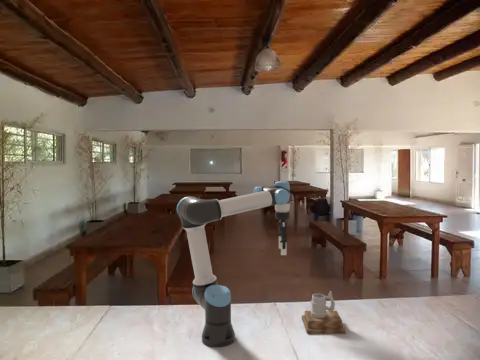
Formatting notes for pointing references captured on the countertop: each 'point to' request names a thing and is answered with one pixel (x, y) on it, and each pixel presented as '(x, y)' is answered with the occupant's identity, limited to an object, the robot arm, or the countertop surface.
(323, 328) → the plinth
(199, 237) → the robot arm
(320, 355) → the countertop surface
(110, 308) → the countertop surface
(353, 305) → the countertop surface
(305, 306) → the countertop surface
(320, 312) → the mug
